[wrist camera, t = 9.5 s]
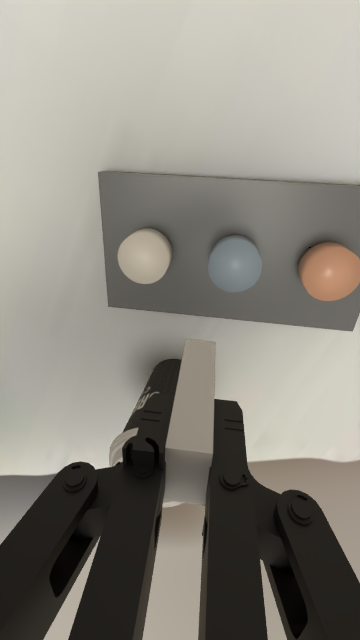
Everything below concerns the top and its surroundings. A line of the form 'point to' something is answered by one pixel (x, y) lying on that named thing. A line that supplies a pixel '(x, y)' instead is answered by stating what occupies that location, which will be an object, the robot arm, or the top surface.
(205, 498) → the robot arm
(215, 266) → the button blue
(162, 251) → the button cream
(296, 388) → the top surface
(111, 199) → the panel
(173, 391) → the coffee cup
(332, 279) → the button terracotta
